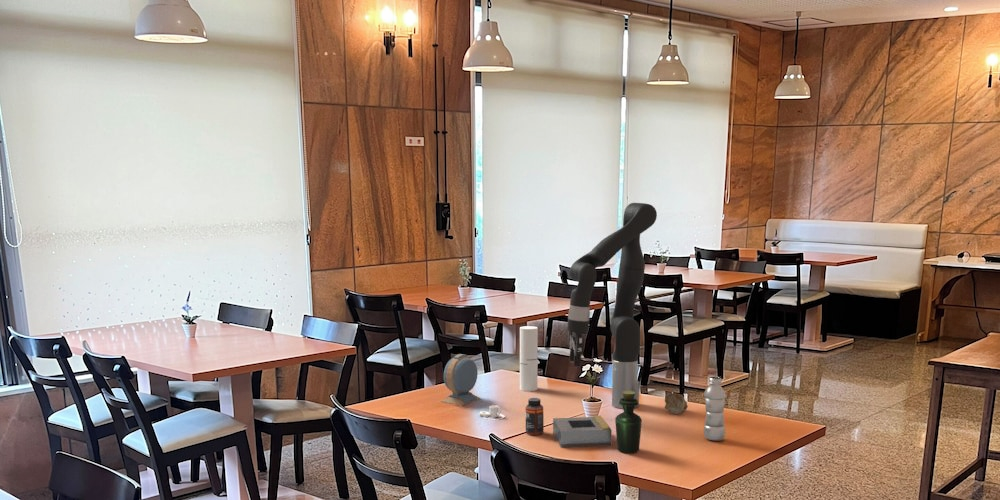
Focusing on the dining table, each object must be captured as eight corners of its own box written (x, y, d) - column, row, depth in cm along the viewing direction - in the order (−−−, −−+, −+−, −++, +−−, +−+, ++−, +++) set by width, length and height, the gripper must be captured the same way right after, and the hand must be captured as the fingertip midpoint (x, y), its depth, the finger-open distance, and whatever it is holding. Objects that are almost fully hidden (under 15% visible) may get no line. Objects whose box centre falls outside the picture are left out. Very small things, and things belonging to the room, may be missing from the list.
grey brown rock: (660, 415, 275) (681, 417, 270) (658, 395, 275) (679, 397, 270) (671, 408, 282) (691, 409, 278) (669, 389, 282) (690, 390, 277)
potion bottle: (624, 456, 230) (624, 397, 228) (609, 448, 237) (610, 390, 236) (647, 452, 233) (647, 394, 232) (632, 444, 240) (632, 388, 239)
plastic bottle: (721, 444, 240) (723, 381, 239) (700, 440, 244) (701, 378, 243) (727, 438, 246) (728, 377, 244) (706, 435, 249) (707, 374, 248)
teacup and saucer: (476, 417, 271) (476, 406, 271) (491, 412, 277) (491, 401, 277) (494, 422, 265) (494, 411, 265) (509, 417, 271) (509, 406, 271)
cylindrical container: (537, 391, 306) (537, 329, 304) (519, 391, 306) (519, 329, 304) (537, 386, 313) (537, 326, 311) (519, 386, 313) (519, 326, 311)
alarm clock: (462, 394, 301) (462, 349, 300) (482, 398, 296) (482, 352, 294) (438, 402, 290) (438, 356, 288) (459, 406, 284) (458, 359, 283)
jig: (600, 431, 253) (601, 415, 253) (611, 445, 239) (611, 427, 239) (553, 433, 252) (553, 416, 251) (560, 447, 238) (560, 429, 237)
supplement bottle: (545, 431, 254) (545, 397, 253) (540, 436, 248) (540, 402, 248) (528, 429, 256) (528, 396, 255) (523, 434, 250) (523, 400, 250)
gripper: (593, 322, 266) (588, 368, 267) (585, 316, 280) (581, 359, 281) (572, 320, 265) (567, 367, 266) (564, 314, 279) (560, 358, 280)
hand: (574, 363), depth 274 cm, fingers open, 8 cm apart
